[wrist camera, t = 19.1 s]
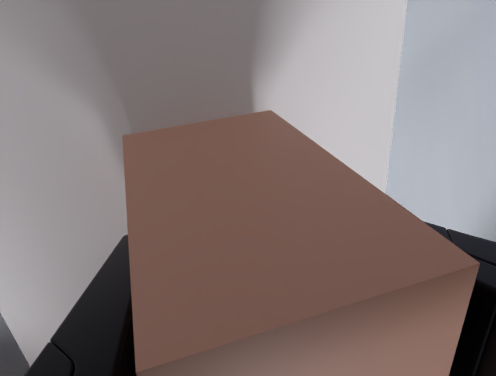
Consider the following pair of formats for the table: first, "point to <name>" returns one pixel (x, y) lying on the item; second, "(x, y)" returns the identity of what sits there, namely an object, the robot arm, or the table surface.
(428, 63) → the table surface
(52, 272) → the grey mat
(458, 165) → the table surface
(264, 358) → the block
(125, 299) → the robot arm
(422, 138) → the table surface
